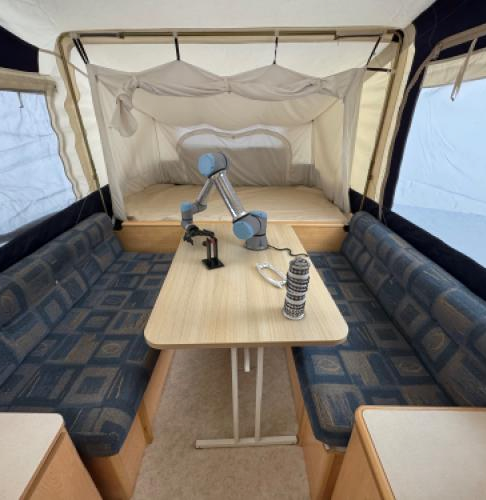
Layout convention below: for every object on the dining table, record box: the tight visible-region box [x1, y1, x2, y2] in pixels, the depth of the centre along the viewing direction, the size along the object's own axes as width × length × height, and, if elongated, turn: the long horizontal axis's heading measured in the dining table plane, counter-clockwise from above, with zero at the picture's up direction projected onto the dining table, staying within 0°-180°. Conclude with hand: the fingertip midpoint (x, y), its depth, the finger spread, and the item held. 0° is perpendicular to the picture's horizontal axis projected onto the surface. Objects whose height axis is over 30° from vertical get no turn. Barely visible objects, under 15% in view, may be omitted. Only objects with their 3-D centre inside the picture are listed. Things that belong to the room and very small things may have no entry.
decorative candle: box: [283, 256, 311, 321], centre depth 106 cm, size 9×9×25 cm
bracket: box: [201, 236, 225, 271], centre depth 148 cm, size 11×9×16 cm
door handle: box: [255, 261, 287, 289], centre depth 139 cm, size 3×10×25 cm
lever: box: [201, 238, 215, 248], centre depth 151 cm, size 15×4×4 cm, turn 27°
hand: (203, 241), depth 158 cm, fingers open, 13 cm apart
